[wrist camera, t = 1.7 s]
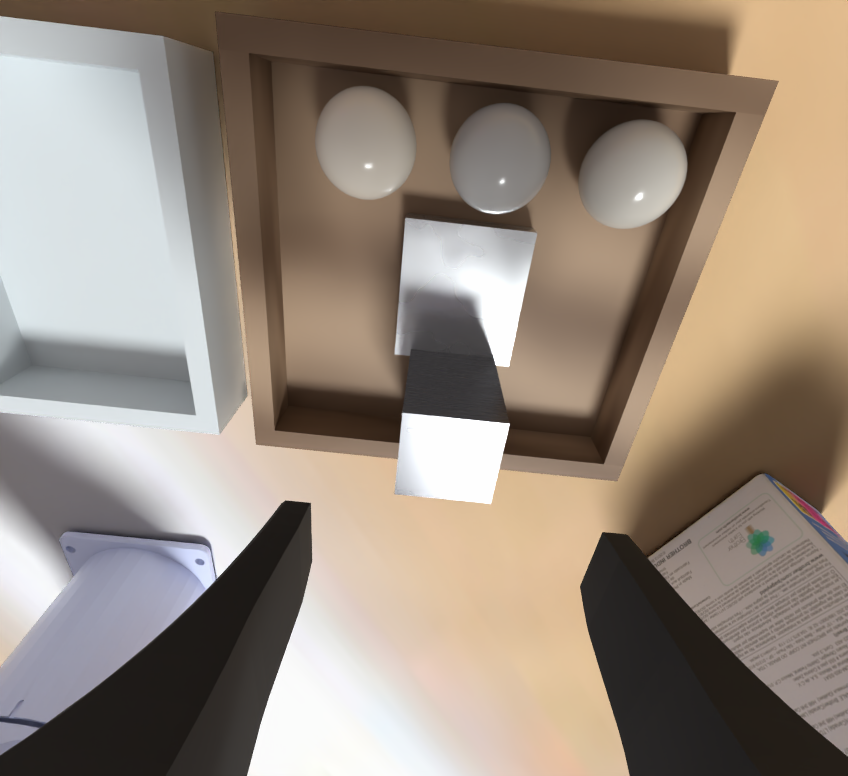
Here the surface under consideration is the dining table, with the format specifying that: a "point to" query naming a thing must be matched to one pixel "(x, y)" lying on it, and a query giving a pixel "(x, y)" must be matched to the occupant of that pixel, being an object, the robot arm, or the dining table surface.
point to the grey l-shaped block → (457, 351)
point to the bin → (114, 231)
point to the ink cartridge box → (772, 595)
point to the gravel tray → (436, 195)
